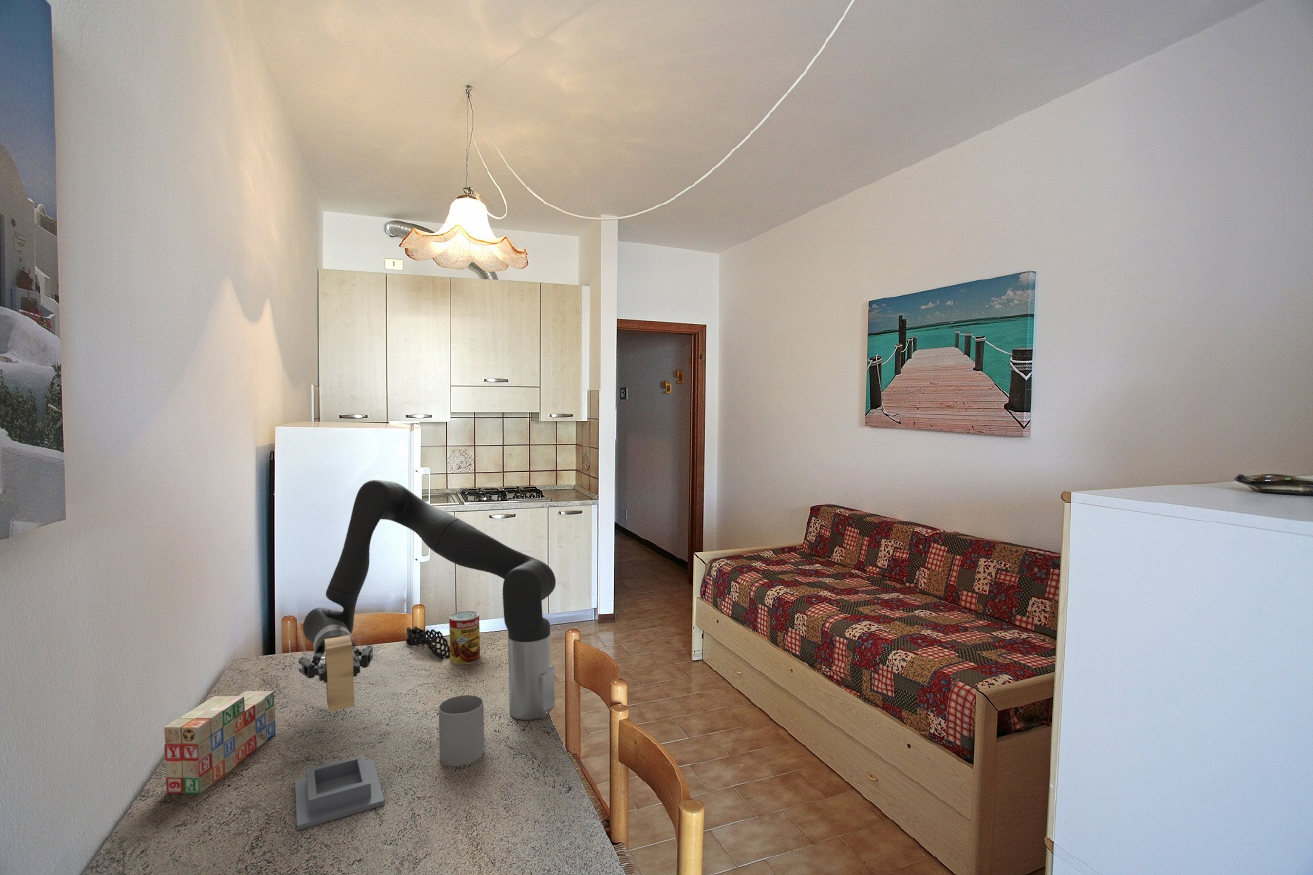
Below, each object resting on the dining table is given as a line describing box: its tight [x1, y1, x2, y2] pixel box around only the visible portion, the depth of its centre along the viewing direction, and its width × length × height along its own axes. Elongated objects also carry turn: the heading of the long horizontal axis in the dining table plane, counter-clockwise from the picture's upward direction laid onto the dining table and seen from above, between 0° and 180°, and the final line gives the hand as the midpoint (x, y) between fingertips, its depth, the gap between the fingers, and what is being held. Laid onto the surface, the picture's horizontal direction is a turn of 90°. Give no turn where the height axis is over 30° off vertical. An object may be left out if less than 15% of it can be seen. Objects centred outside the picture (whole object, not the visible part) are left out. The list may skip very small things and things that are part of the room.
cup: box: [438, 694, 485, 767], centre depth 125 cm, size 8×8×10 cm
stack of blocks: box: [163, 690, 277, 795], centre depth 123 cm, size 21×6×12 cm, turn 178°
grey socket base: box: [294, 754, 385, 831], centre depth 112 cm, size 15×13×3 cm
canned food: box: [448, 610, 481, 665], centre depth 174 cm, size 8×8×12 cm
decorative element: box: [405, 626, 450, 661], centre depth 182 cm, size 22×5×6 cm, turn 47°
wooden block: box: [325, 635, 355, 712], centre depth 123 cm, size 6×4×12 cm
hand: (340, 674), depth 121 cm, fingers closed on wooden block, 4 cm apart
